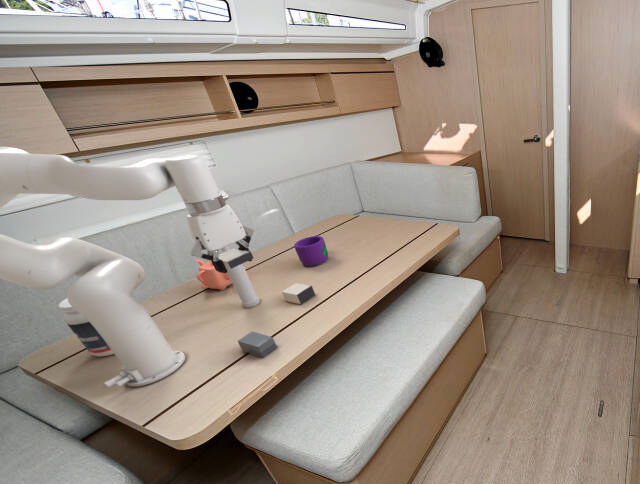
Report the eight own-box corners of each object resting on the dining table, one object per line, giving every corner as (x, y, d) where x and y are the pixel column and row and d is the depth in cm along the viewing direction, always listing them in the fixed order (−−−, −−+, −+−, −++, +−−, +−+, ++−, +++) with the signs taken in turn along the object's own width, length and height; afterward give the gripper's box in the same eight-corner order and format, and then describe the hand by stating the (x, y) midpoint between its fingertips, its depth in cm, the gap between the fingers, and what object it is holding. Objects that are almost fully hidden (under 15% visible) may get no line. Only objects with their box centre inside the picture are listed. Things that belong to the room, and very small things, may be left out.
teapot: (207, 281, 144) (195, 258, 140) (248, 271, 150) (237, 249, 145) (197, 298, 133) (183, 273, 128) (242, 287, 138) (230, 263, 133)
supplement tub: (81, 357, 106) (40, 308, 98) (128, 329, 118) (96, 283, 110) (113, 360, 104) (75, 310, 96) (159, 331, 115) (128, 284, 107)
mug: (325, 266, 149) (318, 245, 145) (297, 269, 148) (289, 248, 144) (337, 248, 165) (330, 228, 160) (311, 251, 164) (304, 232, 159)
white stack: (301, 304, 124) (297, 295, 122) (285, 300, 127) (281, 291, 125) (315, 295, 129) (312, 285, 127) (299, 291, 132) (296, 282, 130)
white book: (231, 268, 93) (228, 262, 92) (213, 264, 96) (209, 258, 95) (253, 258, 98) (250, 251, 97) (235, 254, 101) (232, 248, 100)
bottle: (251, 308, 124) (220, 245, 113) (239, 307, 125) (208, 245, 114) (263, 300, 128) (235, 238, 117) (252, 299, 129) (222, 238, 118)
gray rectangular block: (263, 357, 101) (258, 347, 99) (242, 351, 104) (237, 340, 102) (277, 347, 104) (272, 337, 102) (257, 341, 107) (251, 331, 106)
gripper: (232, 193, 98) (257, 250, 106) (157, 216, 84) (193, 280, 92) (249, 195, 95) (273, 253, 103) (175, 219, 81) (210, 284, 89)
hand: (235, 265), depth 98 cm, fingers closed on white book, 6 cm apart
